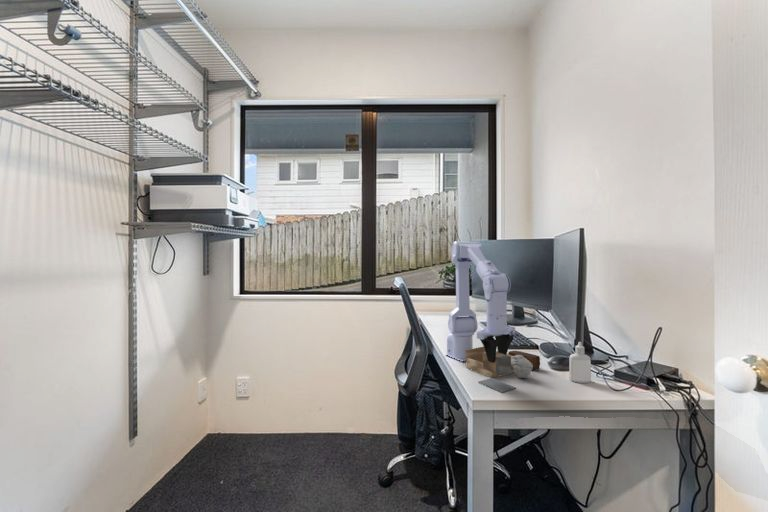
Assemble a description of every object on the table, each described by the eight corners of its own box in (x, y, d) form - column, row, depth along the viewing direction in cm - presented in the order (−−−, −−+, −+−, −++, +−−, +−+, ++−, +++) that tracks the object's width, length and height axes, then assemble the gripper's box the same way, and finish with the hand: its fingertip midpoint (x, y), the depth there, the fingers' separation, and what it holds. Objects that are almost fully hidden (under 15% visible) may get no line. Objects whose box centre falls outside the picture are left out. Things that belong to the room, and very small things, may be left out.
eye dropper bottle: (589, 385, 100) (589, 345, 100) (568, 381, 104) (568, 342, 104) (591, 381, 104) (591, 342, 104) (571, 377, 107) (571, 339, 107)
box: (482, 368, 103) (482, 352, 102) (491, 366, 105) (492, 350, 105) (501, 376, 97) (501, 358, 96) (510, 373, 99) (511, 356, 99)
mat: (478, 382, 103) (478, 381, 103) (491, 378, 106) (491, 377, 106) (502, 392, 95) (502, 391, 95) (516, 388, 98) (516, 387, 98)
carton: (465, 367, 116) (465, 350, 116) (496, 360, 124) (496, 343, 124) (491, 377, 107) (491, 359, 107) (523, 369, 115) (523, 351, 115)
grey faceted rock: (515, 372, 112) (515, 351, 112) (536, 377, 107) (536, 355, 107) (506, 377, 107) (506, 355, 107) (528, 383, 102) (528, 360, 102)
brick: (540, 369, 115) (540, 355, 115) (533, 371, 112) (533, 357, 112) (512, 361, 123) (512, 348, 123) (506, 363, 121) (506, 350, 121)
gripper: (490, 319, 93) (490, 368, 93) (523, 314, 101) (524, 359, 101) (471, 315, 99) (471, 361, 99) (504, 310, 107) (504, 353, 107)
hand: (496, 360), depth 100 cm, fingers closed on box, 4 cm apart
